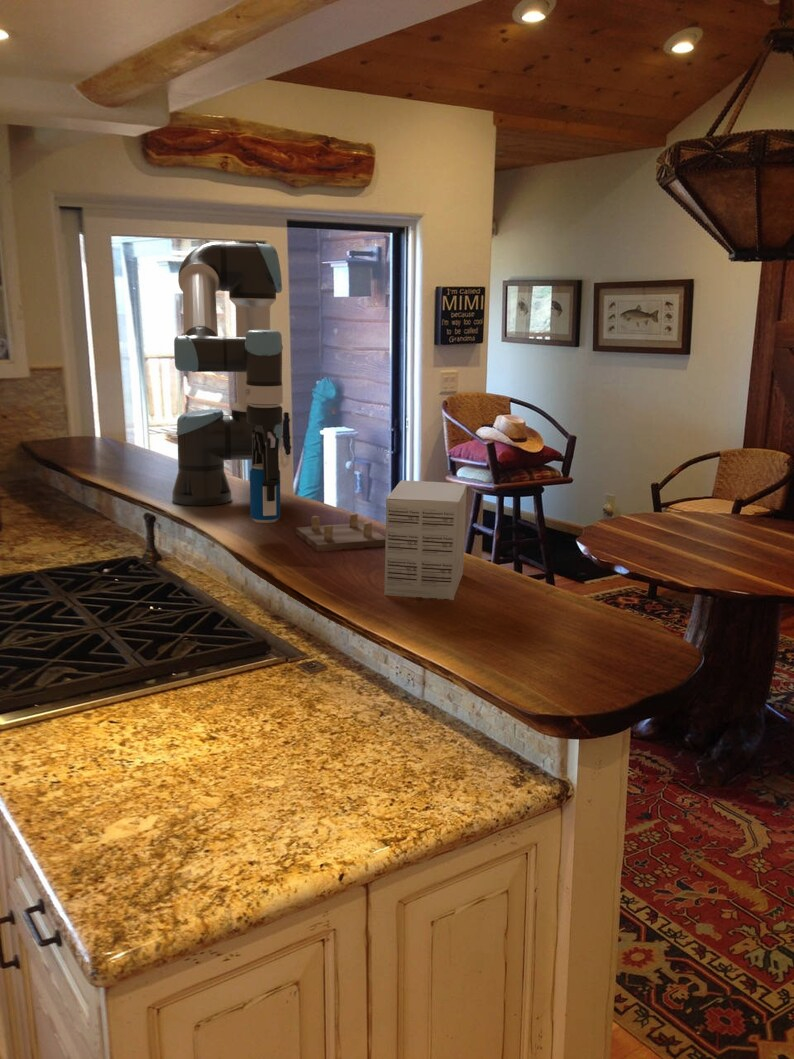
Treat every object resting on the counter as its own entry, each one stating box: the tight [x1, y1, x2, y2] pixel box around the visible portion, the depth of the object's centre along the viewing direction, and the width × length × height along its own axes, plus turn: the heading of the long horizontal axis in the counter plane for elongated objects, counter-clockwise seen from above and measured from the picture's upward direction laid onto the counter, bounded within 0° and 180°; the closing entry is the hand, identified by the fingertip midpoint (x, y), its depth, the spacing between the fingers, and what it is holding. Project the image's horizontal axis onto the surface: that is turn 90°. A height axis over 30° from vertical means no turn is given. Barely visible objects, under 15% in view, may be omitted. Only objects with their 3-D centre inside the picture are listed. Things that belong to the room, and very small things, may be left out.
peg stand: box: [295, 512, 386, 553], centre depth 201 cm, size 16×16×4 cm
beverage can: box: [249, 464, 281, 524], centre depth 196 cm, size 6×6×12 cm
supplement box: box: [383, 479, 468, 601], centre depth 168 cm, size 17×13×18 cm
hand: (265, 511), depth 197 cm, fingers closed on beverage can, 6 cm apart
